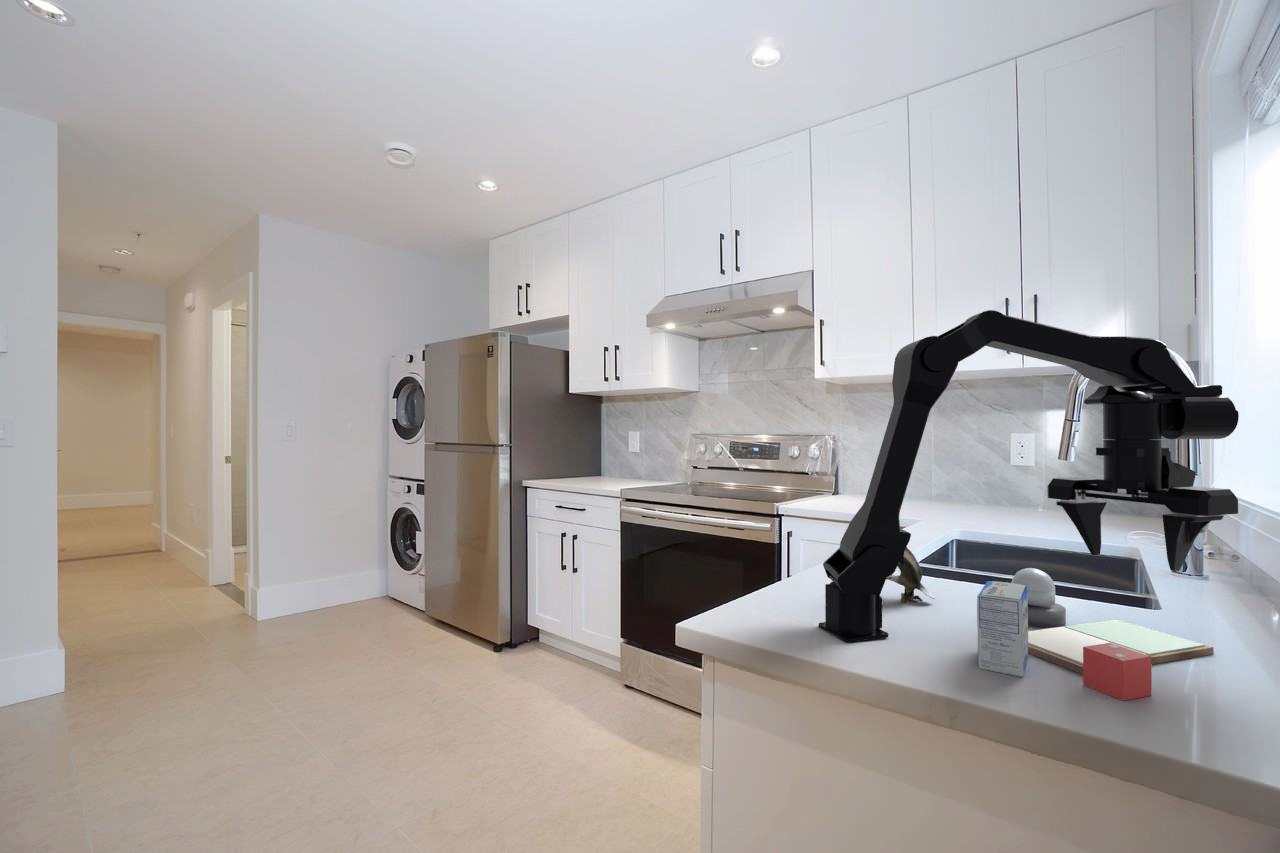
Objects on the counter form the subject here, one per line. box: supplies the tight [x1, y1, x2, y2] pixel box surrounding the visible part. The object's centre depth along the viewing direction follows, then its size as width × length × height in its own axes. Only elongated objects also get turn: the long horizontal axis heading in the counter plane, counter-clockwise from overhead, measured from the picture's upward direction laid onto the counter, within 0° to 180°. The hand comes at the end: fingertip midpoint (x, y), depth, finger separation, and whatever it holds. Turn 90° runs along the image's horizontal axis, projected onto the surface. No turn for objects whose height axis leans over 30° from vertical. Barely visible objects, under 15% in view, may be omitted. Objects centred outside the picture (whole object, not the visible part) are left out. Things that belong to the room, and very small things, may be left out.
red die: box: [1082, 643, 1153, 701], centre depth 62 cm, size 4×4×4 cm
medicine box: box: [976, 580, 1029, 678], centre depth 69 cm, size 8×4×9 cm, turn 143°
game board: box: [1028, 618, 1215, 675], centre depth 73 cm, size 21×11×1 cm, turn 107°
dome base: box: [1028, 602, 1067, 629], centre depth 85 cm, size 8×8×2 cm
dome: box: [1011, 567, 1056, 606], centre depth 85 cm, size 5×5×5 cm
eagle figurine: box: [886, 546, 936, 604], centre depth 93 cm, size 8×7×9 cm
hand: (1133, 562), depth 75 cm, fingers open, 9 cm apart
